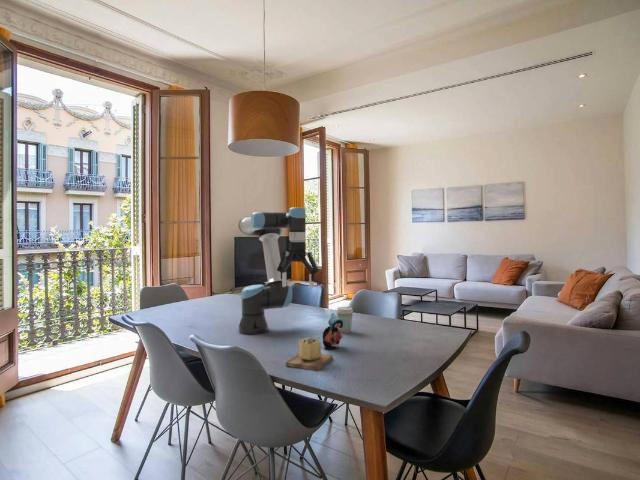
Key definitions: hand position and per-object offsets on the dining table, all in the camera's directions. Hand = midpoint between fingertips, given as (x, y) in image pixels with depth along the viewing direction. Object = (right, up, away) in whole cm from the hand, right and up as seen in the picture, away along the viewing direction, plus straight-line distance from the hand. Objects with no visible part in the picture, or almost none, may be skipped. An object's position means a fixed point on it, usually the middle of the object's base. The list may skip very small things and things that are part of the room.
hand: (297, 287), depth 172 cm
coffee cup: (+23, -25, +19) cm, 39 cm away
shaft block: (+6, -26, -25) cm, 37 cm away
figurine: (+16, -26, -8) cm, 31 cm away
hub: (+6, -24, -25) cm, 35 cm away
